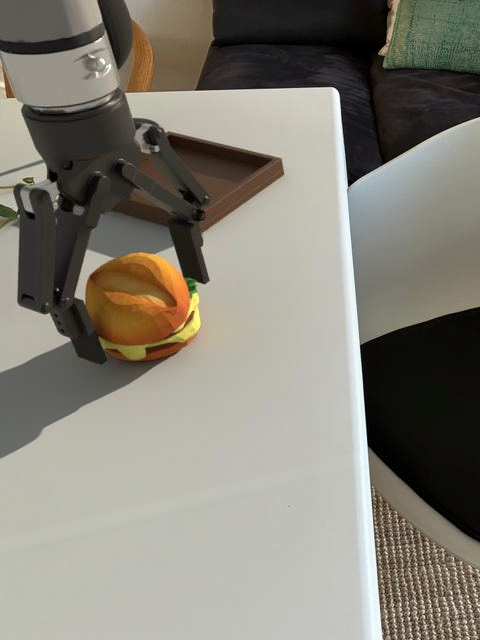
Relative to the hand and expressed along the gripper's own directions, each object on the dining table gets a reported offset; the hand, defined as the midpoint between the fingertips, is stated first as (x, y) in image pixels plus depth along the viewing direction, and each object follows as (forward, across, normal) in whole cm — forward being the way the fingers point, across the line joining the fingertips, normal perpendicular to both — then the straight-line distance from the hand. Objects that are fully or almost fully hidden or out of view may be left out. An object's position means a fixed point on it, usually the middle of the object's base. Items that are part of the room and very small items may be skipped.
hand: (148, 316), depth 73 cm
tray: (+2, +25, +18) cm, 31 cm away
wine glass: (+2, +33, +36) cm, 49 cm away
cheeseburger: (+3, 0, 0) cm, 3 cm away
